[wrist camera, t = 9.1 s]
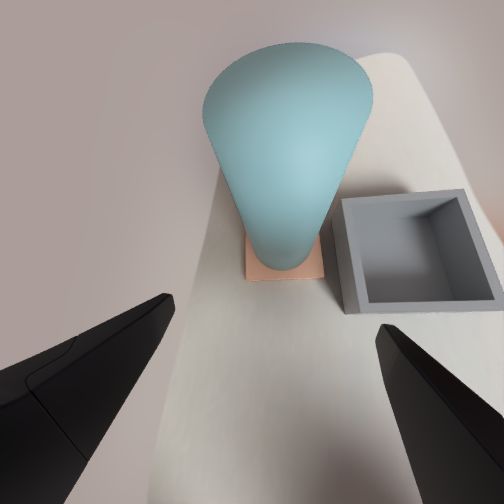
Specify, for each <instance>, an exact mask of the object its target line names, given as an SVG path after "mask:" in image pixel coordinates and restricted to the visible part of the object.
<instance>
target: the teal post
mask: <svg viewBox="0 0 504 504" xmlns="http://www.w3.org/2000/svg"><path fill="white" fill-rule="evenodd" d="M372 105H373V90H372V85H371V82H370V79H369V77H368V75H367V74H366V72H365V70H364V69H363V68H362V67H361V66H360V65H359V64H358V63H357V62H356V61H355V60H354V59H353V58H351V57H350V56H348V55H346V54H345V53H343V52H341V51H339V50H336V49H334V48H331V47H328V46H324V45H320V44H313V43H285V44H278V45H273V46H269V47H266V48H262V49H259V50H257V51H254V52H252V53H249V54H247V55H245V56H243V57H241V58H240V59H238V60H237V61H235V62H234V63H232V64H231V65H230V66H228V67H227V68H226V69H225V70H224V71H223V72H222V73H220V75H219V76H218V77H217V78H216V79H215V80H214V82H213V84H212V85H211V86H210V88H209V90H208V92H207V94H206V97H205V100H204V105H203V122H204V126H205V129H206V131H207V134H208V137H209V139H210V142H211V144H212V147H213V149H214V151H215V154H216V157H217V159H218V162H219V164H220V167H221V169H222V172H223V174H224V177H225V179H226V182H227V184H228V187H229V189H230V192H231V194H232V197H233V199H234V202H235V204H236V207H237V209H238V212H239V214H240V217H241V219H242V222H243V224H244V227H245V229H246V232H247V234H248V237H249V239H250V242H251V244H252V247H253V249H254V252H255V254H256V256H257V258H258V259H259V260H260V262H261V263H263V264H264V265H265V266H267V267H268V268H271V269H274V270H278V271H286V270H291V269H294V268H296V267H298V266H300V265H301V264H302V263H303V262H304V261H305V260H306V259H307V257H308V256H309V254H310V251H311V249H312V247H313V244H314V242H315V240H316V238H317V235H318V233H319V231H320V228H321V226H322V224H323V221H324V219H325V217H326V214H327V212H328V210H329V208H330V205H331V203H332V201H333V198H334V196H335V194H336V191H337V189H338V187H339V185H340V182H341V180H342V178H343V175H344V173H345V171H346V168H347V166H348V164H349V161H350V159H351V157H352V155H353V152H354V150H355V148H356V145H357V143H358V141H359V138H360V136H361V134H362V131H363V129H364V127H365V125H366V122H367V120H368V118H369V115H370V113H371V109H372Z"/></svg>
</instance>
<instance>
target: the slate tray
mask: <svg viewBox="0 0 504 504" xmlns="http://www.w3.org/2000/svg"><path fill="white" fill-rule="evenodd" d="M331 223H332V230H333V237H334V243H335V250H336V257H337V264H338V271H339V277H340V284H341V291H342V298H343V305H344V312H345V314H397V313H455V312H485V311H504V292H503V289H502V286H501V284H500V281H499V279H498V276H497V274H496V271H495V268H494V266H493V263H492V261H491V258H490V255H489V253H488V250H487V248H486V245H485V242H484V240H483V237H482V235H481V232H480V229H479V227H478V224H477V222H476V219H475V217H474V214H473V211H472V209H471V206H470V204H469V201H468V198H467V196H466V193H465V191H464V189H454V190H441V191H429V192H417V193H405V194H393V195H380V196H368V197H356V198H344V199H341V200H340V202H339V204H338V206H337V208H336V210H335V212H334V214H333V216H332V218H331Z"/></svg>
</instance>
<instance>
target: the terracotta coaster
mask: <svg viewBox="0 0 504 504" xmlns="http://www.w3.org/2000/svg"><path fill="white" fill-rule="evenodd" d="M324 277H325V276H324V268H323V260H322V252H321V244H320V236H319V233H318V235H317V238H316V240H315V242H314V244H313V247H312V249H311V251H310V254H309V256H308V257H307V259H306V260H305V261H304V262H303V263H302V264H301V265H300V266H298V267H296V268H294V269H291V270H286V271H278V270H274V269H271V268H268V267H267V266H265V265H264V264H263V263H261V262H260V260H259V259H258V258H257V256H256V254H255V252H254V249H253V247H252V244H251V242H250V239H249V237H248V234H247V232H246V281H262V280H289V279H315V278H324Z"/></svg>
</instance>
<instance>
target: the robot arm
mask: <svg viewBox="0 0 504 504" xmlns="http://www.w3.org/2000/svg"><path fill="white" fill-rule="evenodd" d="M174 312H175V304H174V300H173V296H172V295H171V294H167V293H162V294H160V295H158V296H156V297H154V298H152V299H150V300H148V301H146V302H144V303H142V304H140V305H138V306H136V307H134V308H132V309H130V310H128V311H126V312H124V313H122V314H120V315H118V316H115V317H114V318H111V319H110V320H107V321H106V322H104V323H101V324H99V325H97V326H95V327H93V328H91V329H89V330H87V331H85V332H83V333H81V334H79V335H78V336H75V337H73V338H71V339H69V340H67V341H65V342H63V343H60V344H58V345H56V346H54V347H52V348H50V349H48V350H46V351H43V352H41V353H39V354H37V355H35V356H32V357H30V358H28V359H26V360H23V361H21V362H19V363H16V364H14V365H12V366H9V367H7V368H5V369H3V370H0V504H64V502H65V500H66V498H67V497H68V495H69V494H70V492H71V490H72V489H73V487H74V485H75V484H76V482H77V480H78V479H79V477H80V475H81V474H82V472H83V470H84V469H85V467H86V465H87V463H88V461H89V460H90V458H91V457H92V455H93V453H94V452H95V450H96V448H97V447H98V445H99V443H100V442H101V440H102V438H103V437H104V435H105V433H106V432H107V430H108V429H109V427H110V425H111V423H112V422H113V420H114V419H115V417H116V415H117V414H118V412H119V410H120V409H121V407H122V405H123V404H124V402H125V400H126V399H127V397H128V395H129V393H130V392H131V390H132V389H133V387H134V385H135V384H136V382H137V380H138V378H139V377H140V375H141V374H142V372H143V370H144V369H145V367H146V365H147V364H148V362H149V360H150V358H151V357H152V355H153V354H154V352H155V350H156V349H157V347H158V345H159V343H160V342H161V340H162V338H163V336H164V333H165V331H166V329H167V327H168V325H169V323H170V321H171V319H172V317H173V315H174ZM375 343H376V348H377V353H378V358H379V362H380V367H381V372H382V377H383V381H384V385H385V388H386V391H387V394H388V398H389V401H390V404H391V407H392V410H393V413H394V416H395V419H396V422H397V425H398V428H399V431H400V434H401V437H402V440H403V444H404V447H405V450H406V453H407V456H408V459H409V462H410V465H411V468H412V471H413V474H414V477H415V480H416V483H417V486H418V490H419V493H420V496H421V499H422V502H423V504H504V418H503V416H502V415H501V414H500V413H499V412H497V411H496V410H495V409H494V408H493V407H491V406H490V405H489V404H488V403H487V402H485V401H484V400H483V399H482V398H481V397H479V396H478V395H477V394H476V393H475V392H473V391H472V390H471V389H470V388H469V387H467V386H466V385H465V384H464V383H463V382H461V381H460V380H459V379H458V378H457V377H456V376H454V375H453V374H452V373H451V372H450V371H448V370H447V369H446V368H445V367H444V366H442V365H441V364H440V363H439V362H438V361H436V360H435V359H434V358H433V357H432V356H430V355H429V354H428V353H427V352H426V351H424V350H423V349H422V348H421V347H420V346H418V345H417V344H416V343H415V342H414V341H412V340H411V339H410V338H409V337H408V336H406V335H405V334H404V333H403V332H402V331H400V330H399V329H398V328H397V327H396V326H394V325H389V324H382V325H381V326H380V329H379V331H378V334H377V336H376V340H375Z"/></svg>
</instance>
